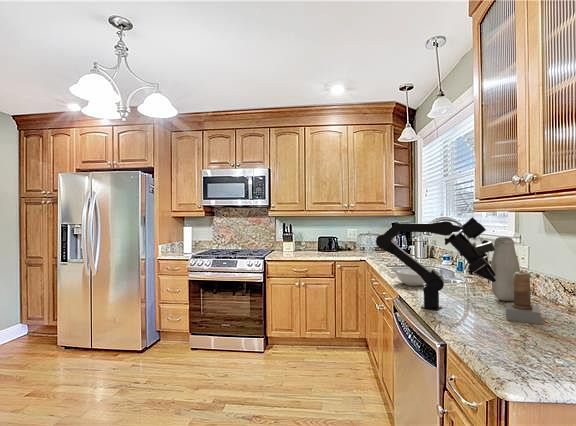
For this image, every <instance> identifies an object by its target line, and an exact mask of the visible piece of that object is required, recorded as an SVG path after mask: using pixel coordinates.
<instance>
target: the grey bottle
mask: <svg viewBox="0 0 576 426" xmlns="http://www.w3.org/2000/svg"><path fill="white" fill-rule="evenodd" d="M493 245H494V247H495V251H493V253H492V257H491V262H490V266H491V268H492V270H493V271H494V273H495V274H496V275H495V276H494V278H495V279H496V281H495V282H492V281H491V291H492V293H493V295H494V297H495V298H496V299H497V300H500V301H503V302H512V301H513V302H514V286H513V274H515V272H520V271H521V269H520V263H519V258H518V256H517V251H516V248H515V241H514V239H513V238H512V237H509V236H499V237H498V236H497V237H496V239H494V242H493Z"/></svg>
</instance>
